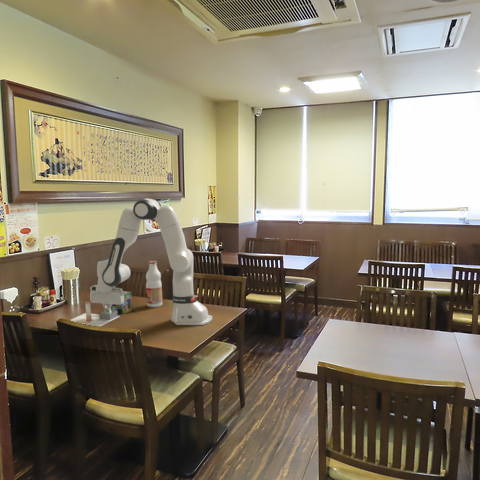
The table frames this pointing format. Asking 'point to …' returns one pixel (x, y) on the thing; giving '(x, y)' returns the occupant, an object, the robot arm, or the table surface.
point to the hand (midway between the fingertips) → (107, 311)
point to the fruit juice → (153, 286)
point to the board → (96, 318)
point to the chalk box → (124, 304)
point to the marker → (88, 311)
